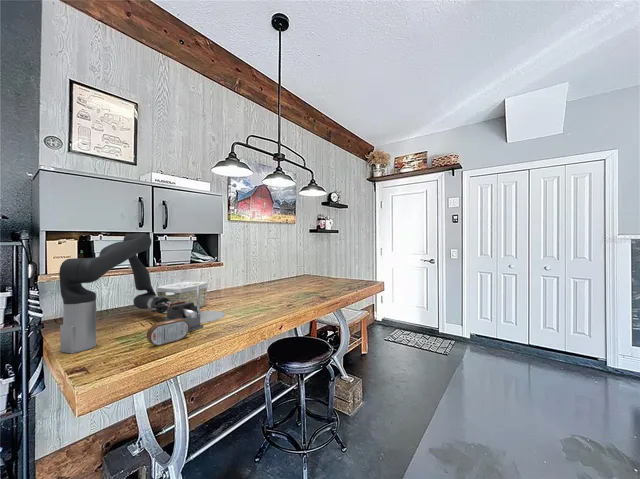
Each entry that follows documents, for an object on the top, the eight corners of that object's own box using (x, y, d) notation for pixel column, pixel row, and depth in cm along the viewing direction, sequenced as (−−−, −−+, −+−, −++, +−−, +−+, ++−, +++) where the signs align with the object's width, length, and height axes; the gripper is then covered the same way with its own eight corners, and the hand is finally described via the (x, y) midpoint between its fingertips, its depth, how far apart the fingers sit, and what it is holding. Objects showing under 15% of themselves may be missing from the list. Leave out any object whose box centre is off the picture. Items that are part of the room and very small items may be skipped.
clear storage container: (187, 304, 174) (186, 280, 174) (209, 305, 169) (209, 281, 169) (155, 314, 151) (155, 286, 151) (180, 315, 146) (179, 287, 146)
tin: (187, 336, 114) (186, 315, 114) (190, 337, 112) (190, 317, 112) (146, 347, 103) (146, 324, 103) (149, 349, 101) (149, 326, 101)
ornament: (198, 312, 152) (198, 282, 152) (223, 310, 157) (223, 280, 157) (196, 323, 132) (196, 288, 132) (226, 320, 137) (225, 286, 137)
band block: (160, 331, 120) (160, 305, 121) (192, 323, 132) (192, 300, 132) (171, 336, 114) (171, 309, 114) (203, 327, 125) (203, 302, 125)
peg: (168, 319, 124) (168, 303, 124) (184, 315, 129) (184, 300, 129) (185, 325, 114) (185, 308, 114) (201, 321, 120) (201, 305, 120)
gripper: (143, 298, 133) (159, 303, 122) (172, 294, 143) (188, 298, 133) (143, 314, 133) (159, 320, 122) (172, 308, 143) (189, 314, 133)
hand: (174, 309), depth 128 cm, fingers closed
